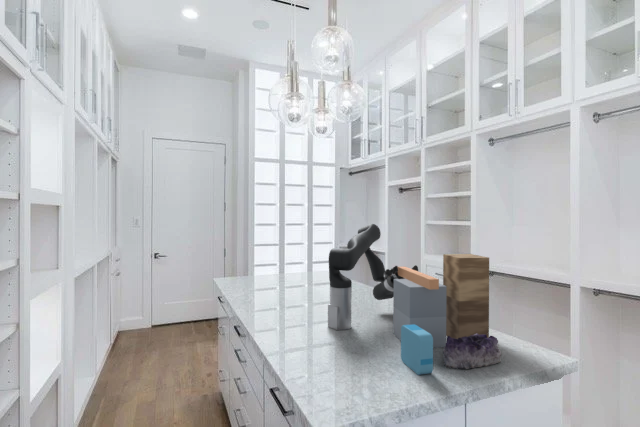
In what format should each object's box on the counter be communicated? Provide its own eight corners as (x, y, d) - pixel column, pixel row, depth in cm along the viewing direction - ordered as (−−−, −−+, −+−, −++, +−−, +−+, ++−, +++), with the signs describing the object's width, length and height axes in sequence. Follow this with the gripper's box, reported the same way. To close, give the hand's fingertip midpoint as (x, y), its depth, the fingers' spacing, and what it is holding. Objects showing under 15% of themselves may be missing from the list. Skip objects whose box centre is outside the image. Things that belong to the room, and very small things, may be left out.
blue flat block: (433, 375, 105) (433, 335, 105) (419, 376, 104) (419, 336, 104) (412, 359, 117) (413, 322, 117) (400, 360, 115) (400, 323, 115)
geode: (463, 377, 104) (458, 342, 105) (435, 367, 115) (431, 335, 116) (509, 362, 113) (505, 330, 114) (480, 354, 123) (476, 325, 124)
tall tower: (488, 342, 132) (489, 257, 132) (459, 344, 130) (459, 258, 130) (470, 332, 143) (470, 253, 143) (442, 333, 142) (443, 254, 142)
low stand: (446, 347, 127) (446, 286, 127) (409, 349, 125) (409, 287, 125) (426, 332, 143) (426, 278, 143) (393, 333, 141) (393, 279, 141)
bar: (438, 289, 122) (438, 279, 122) (429, 289, 122) (429, 279, 122) (404, 274, 152) (404, 266, 152) (397, 274, 151) (397, 266, 151)
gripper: (378, 273, 160) (388, 259, 146) (407, 272, 162) (421, 258, 148) (380, 289, 156) (392, 276, 142) (410, 288, 158) (425, 275, 145)
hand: (406, 267), depth 145 cm, fingers open, 8 cm apart
